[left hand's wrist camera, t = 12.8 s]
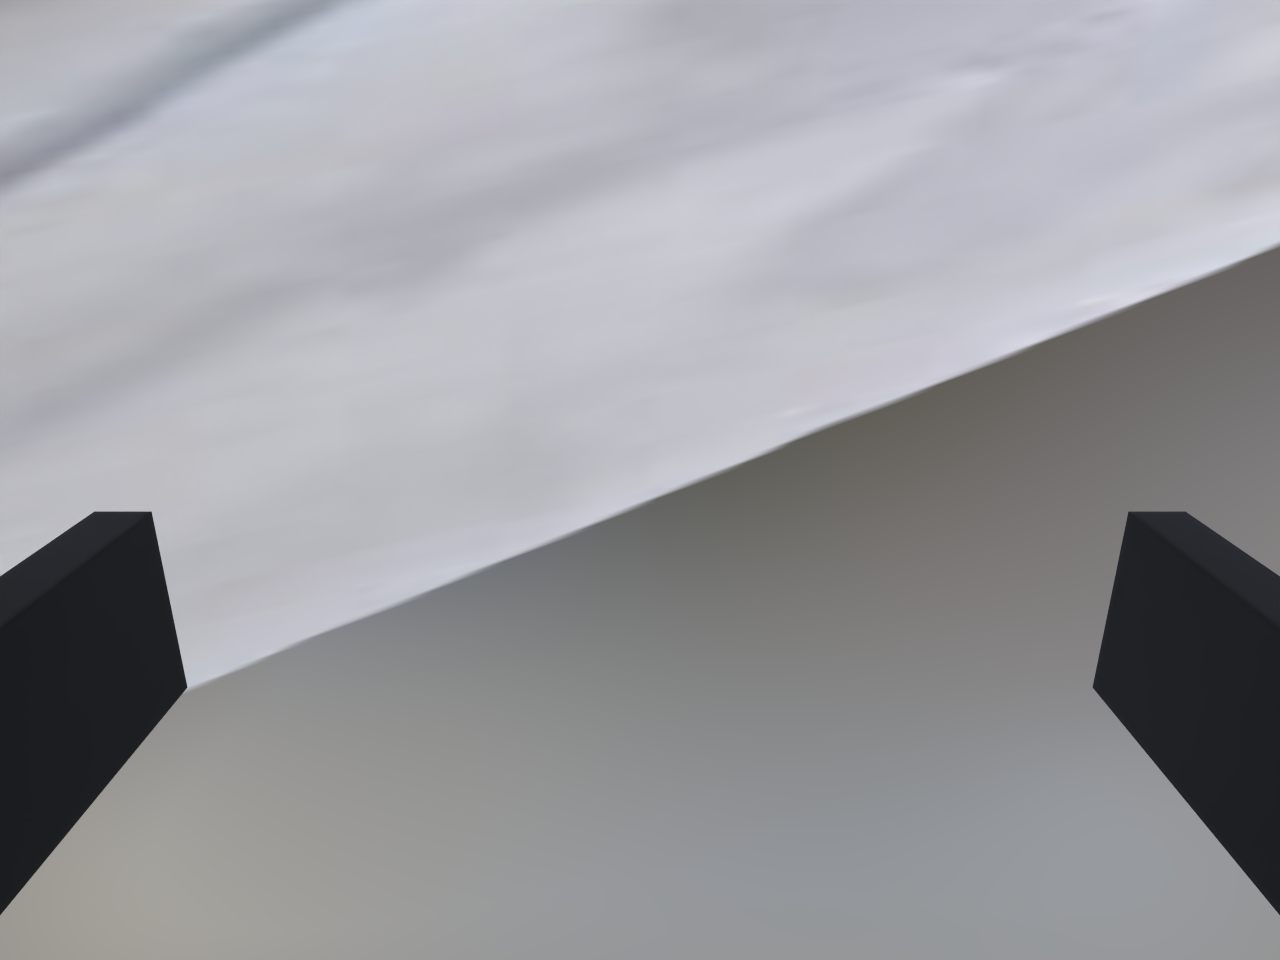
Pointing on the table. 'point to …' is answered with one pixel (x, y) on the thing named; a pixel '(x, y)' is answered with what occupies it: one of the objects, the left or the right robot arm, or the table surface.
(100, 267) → the table surface
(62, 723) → the left robot arm
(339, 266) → the table surface
